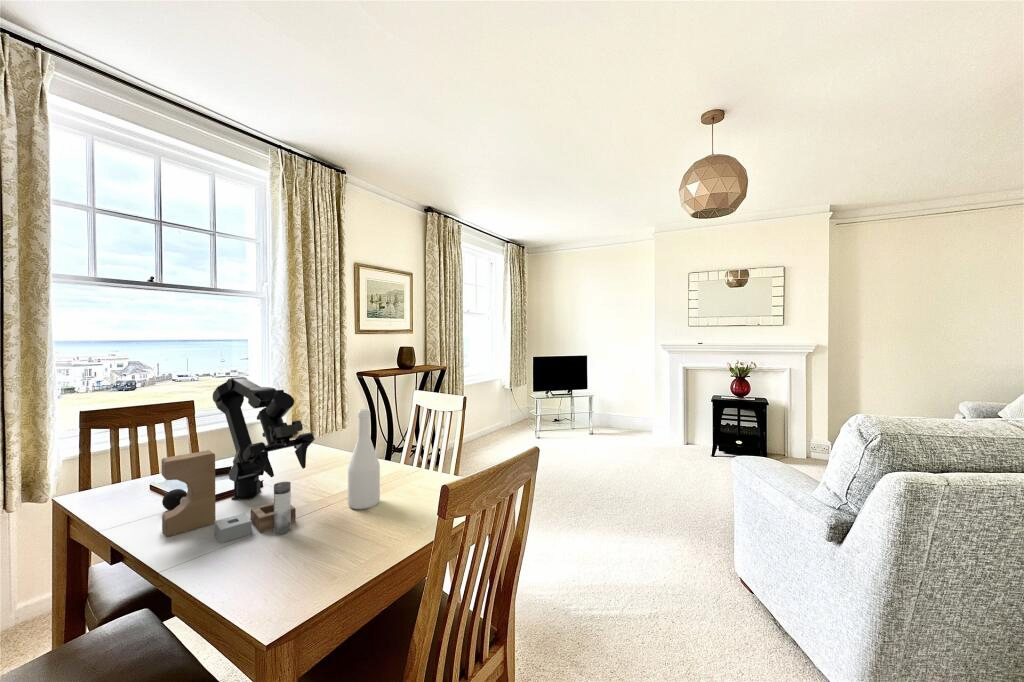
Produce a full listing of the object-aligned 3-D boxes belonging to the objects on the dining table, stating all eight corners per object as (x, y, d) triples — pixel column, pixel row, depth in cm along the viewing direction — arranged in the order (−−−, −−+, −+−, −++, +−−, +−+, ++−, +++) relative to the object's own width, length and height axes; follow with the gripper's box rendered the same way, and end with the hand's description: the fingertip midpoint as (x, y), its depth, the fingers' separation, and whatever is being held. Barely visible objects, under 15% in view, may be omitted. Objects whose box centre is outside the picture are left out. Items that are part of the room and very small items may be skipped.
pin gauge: (271, 535, 111) (271, 487, 111) (277, 528, 115) (277, 481, 115) (286, 534, 112) (286, 486, 111) (293, 527, 116) (293, 481, 115)
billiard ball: (173, 514, 123) (173, 494, 123) (157, 512, 125) (157, 492, 125) (193, 506, 129) (192, 487, 129) (177, 504, 131) (177, 485, 130)
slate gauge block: (214, 533, 112) (214, 521, 112) (244, 525, 117) (244, 513, 117) (220, 543, 107) (220, 529, 107) (251, 533, 112) (251, 520, 112)
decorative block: (165, 538, 109) (164, 462, 109) (161, 530, 113) (161, 457, 113) (216, 524, 117) (215, 453, 117) (211, 517, 121) (210, 449, 121)
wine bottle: (355, 497, 137) (355, 406, 136) (383, 498, 136) (384, 407, 136) (342, 510, 127) (342, 412, 127) (373, 510, 127) (373, 412, 126)
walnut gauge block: (250, 522, 119) (250, 508, 119) (284, 512, 125) (284, 499, 125) (259, 532, 112) (259, 518, 112) (295, 522, 119) (295, 508, 119)
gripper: (250, 417, 116) (266, 469, 111) (314, 407, 131) (331, 452, 126) (235, 436, 121) (250, 486, 116) (298, 424, 136) (314, 468, 132)
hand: (289, 472), depth 122 cm, fingers open, 9 cm apart
